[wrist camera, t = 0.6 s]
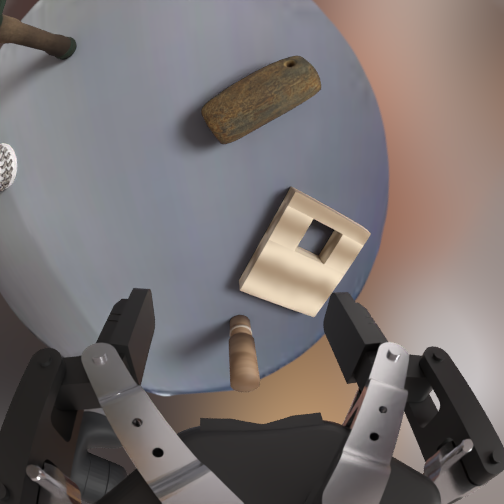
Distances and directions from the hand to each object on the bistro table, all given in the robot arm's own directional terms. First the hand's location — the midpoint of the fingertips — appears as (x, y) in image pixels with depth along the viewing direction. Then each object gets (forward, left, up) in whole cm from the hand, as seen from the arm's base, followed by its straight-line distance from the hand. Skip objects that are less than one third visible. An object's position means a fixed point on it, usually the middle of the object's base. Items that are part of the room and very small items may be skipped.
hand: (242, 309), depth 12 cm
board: (-6, -15, -29) cm, 33 cm away
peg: (-22, -12, -29) cm, 39 cm away
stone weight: (+12, +2, -30) cm, 32 cm away
